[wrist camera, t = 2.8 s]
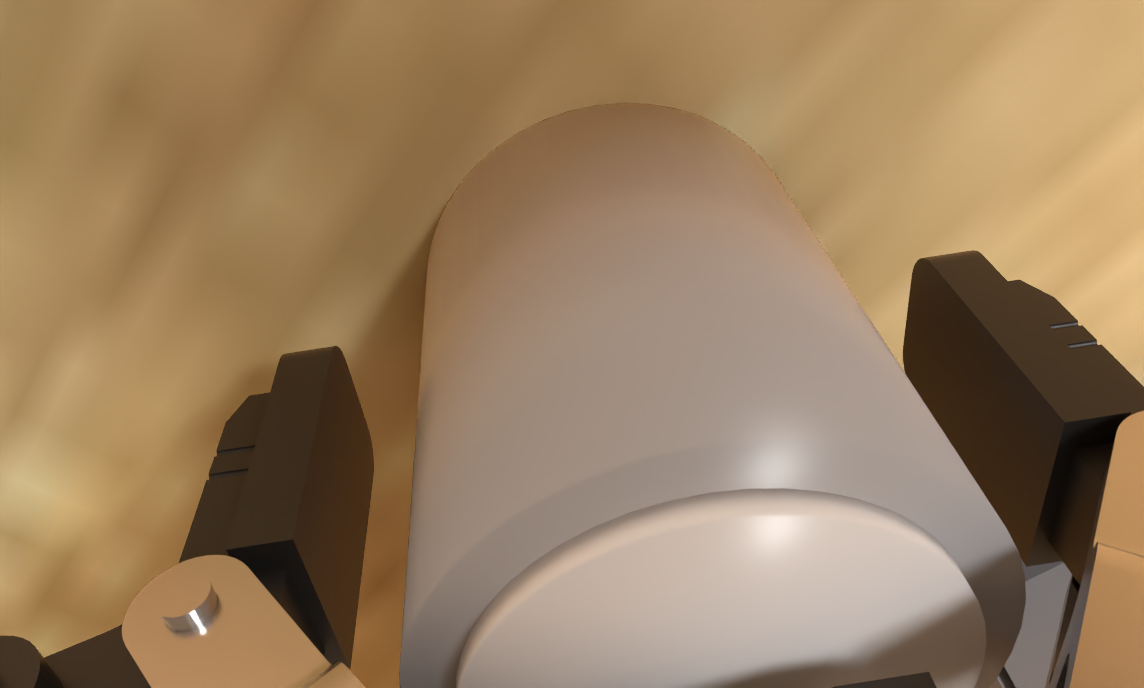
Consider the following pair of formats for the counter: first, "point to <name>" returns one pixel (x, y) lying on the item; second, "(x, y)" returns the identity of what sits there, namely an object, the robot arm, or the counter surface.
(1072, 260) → the counter surface
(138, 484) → the counter surface
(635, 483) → the peg
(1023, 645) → the plate with ring hole
